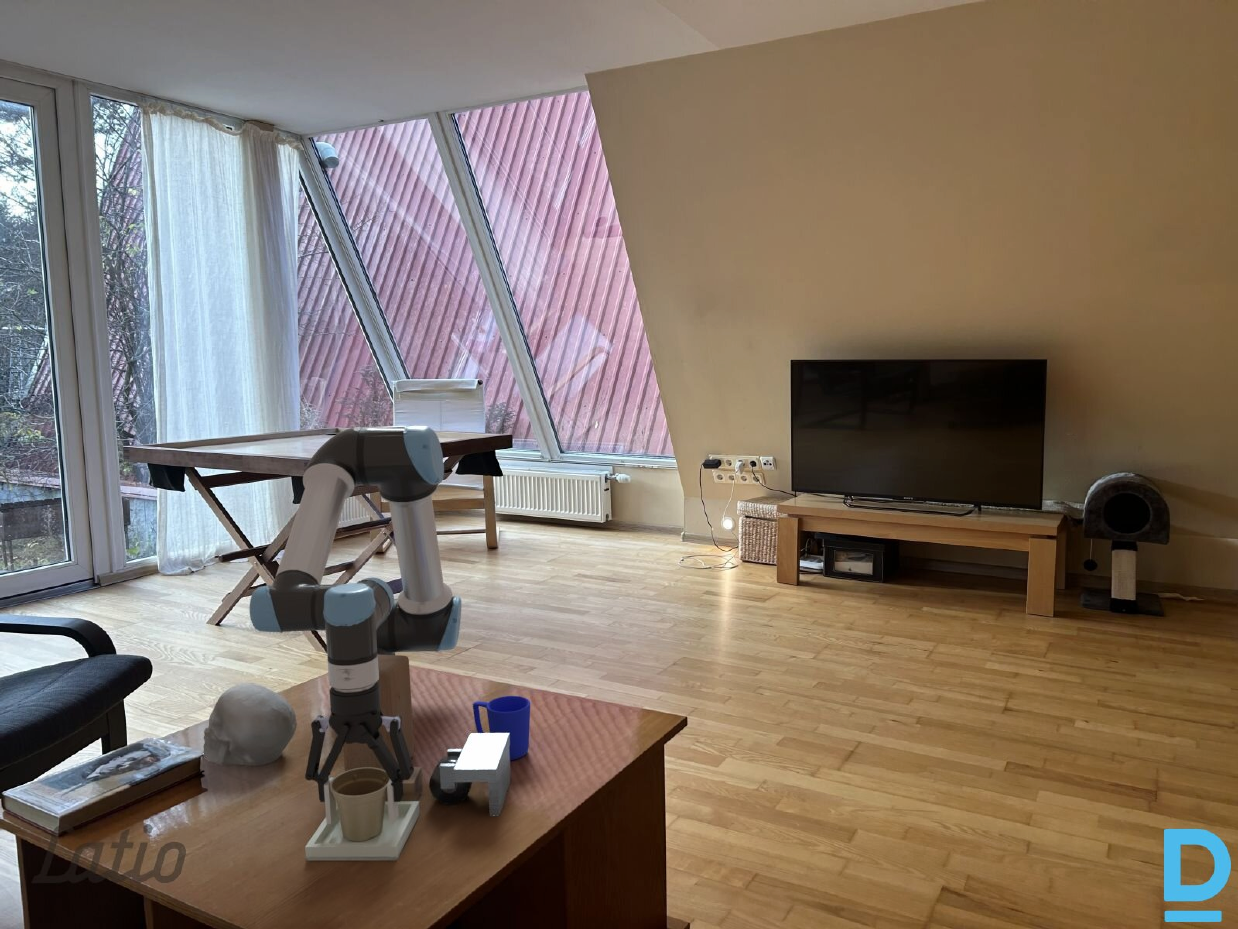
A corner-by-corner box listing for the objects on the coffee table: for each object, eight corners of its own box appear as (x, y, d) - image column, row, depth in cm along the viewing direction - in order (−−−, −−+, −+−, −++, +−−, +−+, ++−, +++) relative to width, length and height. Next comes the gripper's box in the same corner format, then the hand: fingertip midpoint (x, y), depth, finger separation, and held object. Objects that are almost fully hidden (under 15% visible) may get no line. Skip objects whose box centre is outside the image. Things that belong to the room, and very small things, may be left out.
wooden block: (393, 779, 168) (387, 673, 165) (342, 775, 170) (335, 670, 167) (416, 755, 178) (410, 654, 175) (368, 751, 180) (361, 651, 177)
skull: (229, 737, 188) (230, 667, 185) (308, 756, 183) (310, 684, 181) (183, 766, 176) (183, 691, 173) (266, 787, 171) (267, 710, 168)
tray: (337, 814, 156) (336, 801, 156) (420, 813, 155) (419, 801, 155) (306, 860, 142) (305, 847, 142) (396, 860, 142) (395, 846, 141)
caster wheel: (442, 779, 167) (439, 733, 166) (511, 779, 167) (509, 733, 166) (423, 819, 153) (420, 769, 152) (498, 819, 153) (496, 769, 152)
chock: (394, 792, 164) (392, 767, 163) (422, 791, 164) (421, 767, 163) (385, 809, 158) (383, 784, 157) (414, 808, 158) (413, 783, 157)
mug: (488, 738, 184) (486, 690, 183) (540, 749, 179) (538, 699, 177) (463, 755, 177) (460, 705, 176) (516, 767, 171) (514, 715, 170)
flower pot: (396, 841, 146) (394, 790, 145) (333, 853, 143) (331, 800, 142) (389, 812, 155) (388, 763, 153) (330, 822, 152) (328, 772, 150)
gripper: (275, 693, 142) (285, 832, 145) (418, 692, 141) (425, 832, 144) (294, 676, 150) (303, 808, 152) (430, 675, 149) (436, 808, 151)
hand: (362, 820), depth 148 cm, fingers closed on flower pot, 9 cm apart
